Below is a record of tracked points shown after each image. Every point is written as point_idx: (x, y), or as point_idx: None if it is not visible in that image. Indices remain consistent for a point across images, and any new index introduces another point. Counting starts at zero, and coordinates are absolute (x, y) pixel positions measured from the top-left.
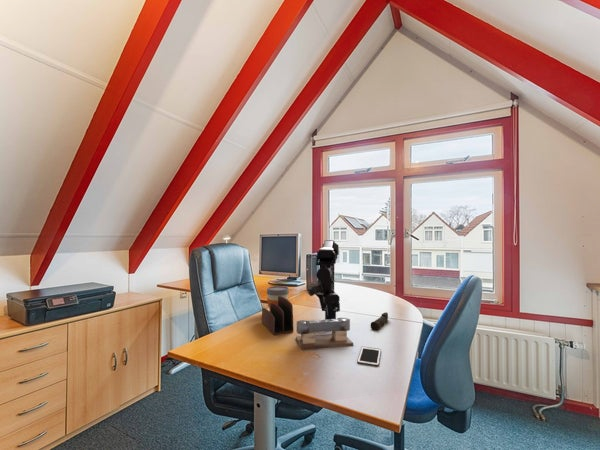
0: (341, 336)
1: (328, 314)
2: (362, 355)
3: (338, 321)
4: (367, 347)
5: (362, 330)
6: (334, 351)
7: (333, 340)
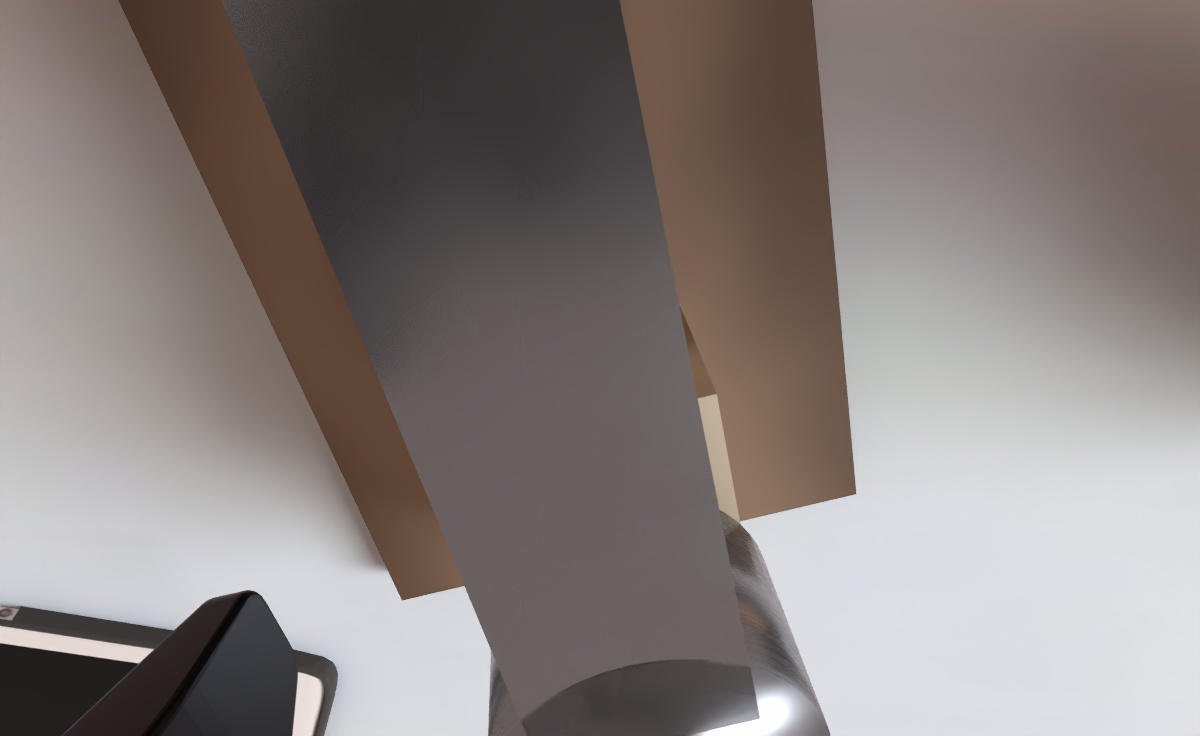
0: None
1: (135, 697)
2: (1, 657)
3: (506, 685)
4: (316, 725)
5: (978, 713)
6: (85, 289)
7: None
